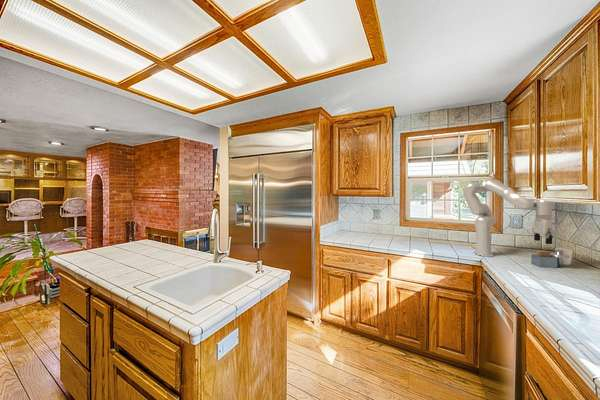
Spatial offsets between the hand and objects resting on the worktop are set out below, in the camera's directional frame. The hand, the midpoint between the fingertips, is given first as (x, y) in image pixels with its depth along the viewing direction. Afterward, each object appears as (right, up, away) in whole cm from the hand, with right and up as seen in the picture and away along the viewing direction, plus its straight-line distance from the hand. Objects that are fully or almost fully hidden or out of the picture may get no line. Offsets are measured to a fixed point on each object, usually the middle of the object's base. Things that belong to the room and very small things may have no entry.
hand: (542, 242), depth 153 cm
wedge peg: (+1, -16, 0) cm, 16 cm away
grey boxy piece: (+5, -16, -1) cm, 17 cm away
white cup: (+19, -16, +4) cm, 25 cm away
